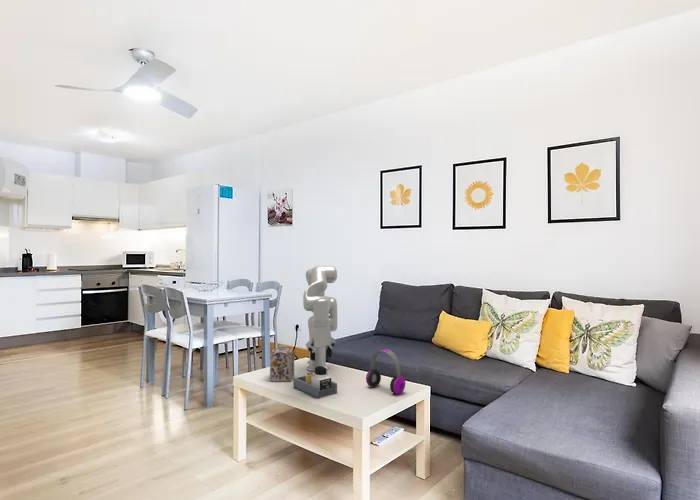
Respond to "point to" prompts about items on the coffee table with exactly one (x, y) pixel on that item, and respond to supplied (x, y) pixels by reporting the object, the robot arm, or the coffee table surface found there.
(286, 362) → the decorative jar
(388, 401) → the coffee table surface
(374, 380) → the headphones
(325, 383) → the medicine bottle
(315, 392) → the gray tray
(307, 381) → the pusher
